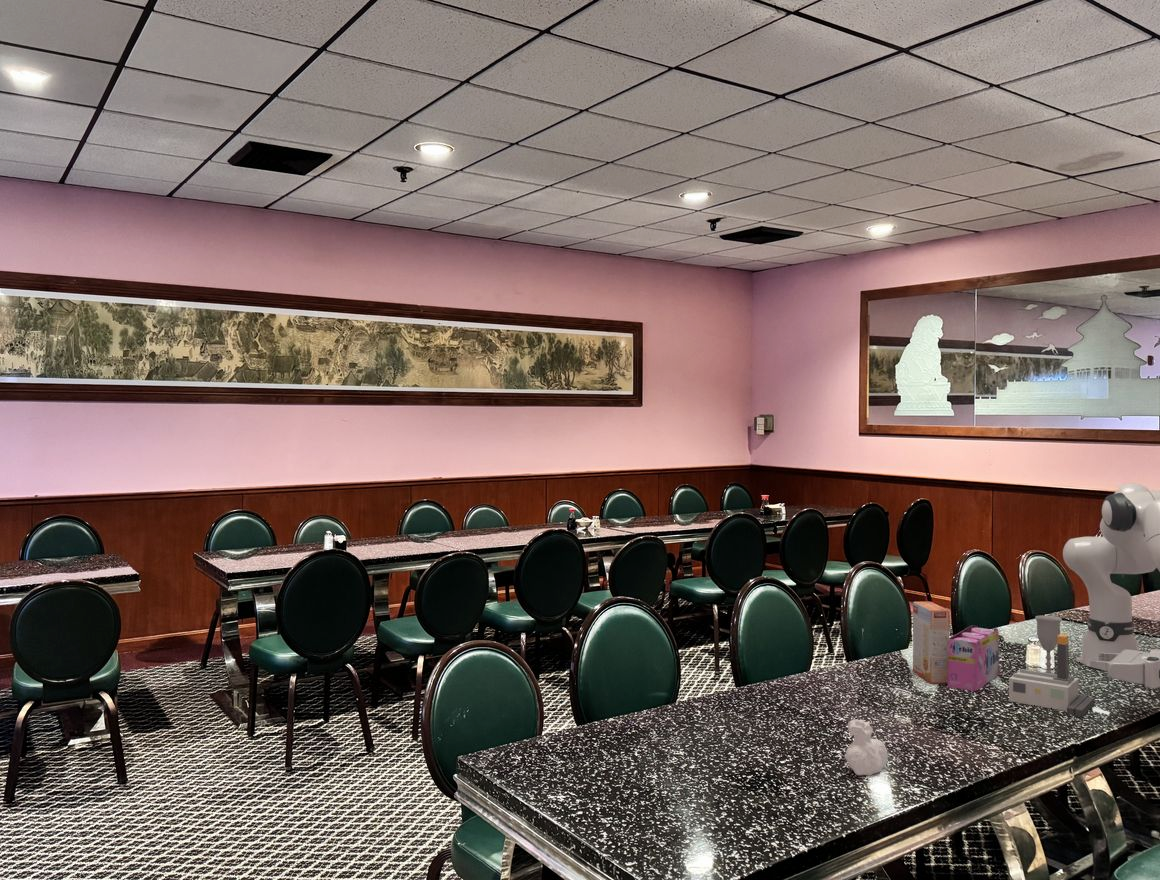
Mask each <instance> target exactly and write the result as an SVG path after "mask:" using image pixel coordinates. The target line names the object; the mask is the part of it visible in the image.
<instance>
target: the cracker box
mask: <svg viewBox="0 0 1160 880" xmlns="http://www.w3.org/2000/svg"><path fill="white" fill-rule="evenodd" d="M912 606H913V607H912V610H913V611H912V616H913V617H912V618H913V619H912V672H913V673H915V674H917V675H918V676H919V677H921V678H922V679H924V680H925V681H926V682H927V683H929V684H945V685H946V684H948V638H950V631H951V630H950V628H951V627H950V625H951V624H950V622H951V620H950V619H951V618H950V616H951V615H950V614H951V612H950V611H951V610H949V609H947V608H946V607H944V606H941V605H939V604H936V603H934V602H933V601H913V602H912Z"/></svg>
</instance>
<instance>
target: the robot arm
mask: <svg viewBox="0 0 1160 880" xmlns="http://www.w3.org/2000/svg"><path fill="white" fill-rule="evenodd" d="M1101 516H1102V518H1101V520H1100V523H1099V529H1100V534H1101V535H1102V536H1081V537H1074V538H1070V539H1068V540H1067V541H1066V543H1065V544H1064V547H1063V550H1062V558H1063V559H1062V560H1063V561H1064V563H1065V565H1066V566H1067V567H1068V568H1069V569H1070V570H1071V571H1073V572H1074V573H1075V574H1076V575H1077V576H1079V578H1080V579H1081V580H1082V582H1083V583H1084V585H1085V587H1086V589H1087V594H1088V595H1087V596H1088V604H1089V617H1087V629H1088V630H1087V632H1086V633H1084V634H1083V635H1082V636H1081V637H1082V640H1081V656H1078V657H1075V662H1076V661H1077V663H1079V662H1080V664H1083V665H1084V666H1087V667H1090V668H1092V669H1098V670H1101V671H1103V672H1107V675H1108V677H1109V678H1112V679H1114V680H1118V681H1123V682H1128V683H1133V684H1137V685H1144V688H1149V689H1156V688H1157V689H1158V688H1160V649H1153V648H1152V649H1150V651H1149V652H1147V651H1143V650H1142V651H1140V650H1139V641H1138V640H1137V639H1136V637H1135V635H1134V633H1135V625H1134V620H1133V599H1132V595H1131V594H1130V592H1129V591H1128V590H1127V589H1125V588H1124V587H1121V586H1120V585H1117V584H1115V583H1113V582H1112V580H1111V574H1112V575H1114V574H1117V575H1139V574H1146V573H1152V572H1154V571H1155V570H1156V569H1157V570H1158V571H1159V573H1160V490H1150V489H1149V488H1148V487H1147V486H1145V485H1142V484H1141V483H1134V482H1133V483H1131V482H1130V483H1126V484H1123V485H1121V486H1120V487H1118V489H1117V490H1116V491H1115V492H1114V493H1112V494H1109V495H1107V496H1106V497H1105V498H1104V500H1103V502H1102V506H1101Z"/></svg>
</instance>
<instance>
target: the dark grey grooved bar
mask: <svg viewBox="0 0 1160 880" xmlns="http://www.w3.org/2000/svg"><path fill="white" fill-rule="evenodd" d="M1095 700H1096V699H1095V697H1092V696H1089V694H1086V693H1081V694H1080V695H1078V698H1077V699H1076V700H1075V701H1074V702H1072V703H1071V704H1070V705H1069V706H1068V707H1067V711H1066V714H1067V715H1071V716H1076V717H1080V718H1081V717H1084V715H1085V714H1086V713H1087V712H1088V711H1089V710H1090V709H1092V707H1093V706H1094V705H1095V704H1096V703H1095Z"/></svg>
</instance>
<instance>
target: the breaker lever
mask: <svg viewBox="0 0 1160 880" xmlns="http://www.w3.org/2000/svg"><path fill="white" fill-rule="evenodd" d="M1069 642H1070V639H1069V635H1068V634H1061V633H1060V635H1058V636H1057V645H1056V649H1057V650H1056V656H1057V657H1056V662H1057V663H1056V665H1057V666H1056V668H1057V669H1056V671H1057V672H1056V673H1057V675H1056V676H1055V677H1054V678H1053V679H1054V680H1061V681H1067V682H1069V683H1071V682H1072V681H1073V677H1074V676H1071V675H1069V673H1070V671H1069V670H1070V667H1069V662H1070V660H1069V657H1070V656H1069V655H1070V651H1069V650H1070V648H1069V646H1070V643H1069Z"/></svg>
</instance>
